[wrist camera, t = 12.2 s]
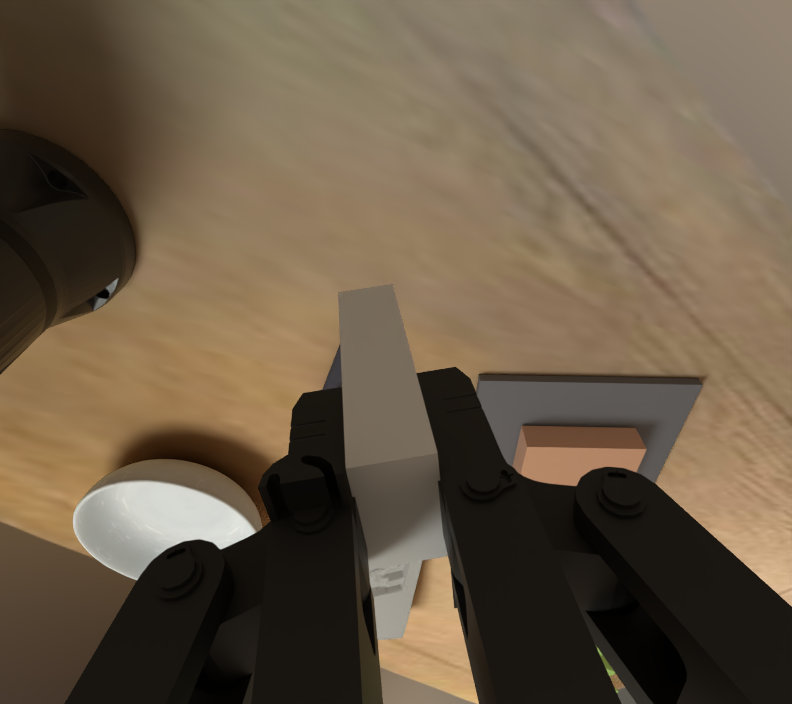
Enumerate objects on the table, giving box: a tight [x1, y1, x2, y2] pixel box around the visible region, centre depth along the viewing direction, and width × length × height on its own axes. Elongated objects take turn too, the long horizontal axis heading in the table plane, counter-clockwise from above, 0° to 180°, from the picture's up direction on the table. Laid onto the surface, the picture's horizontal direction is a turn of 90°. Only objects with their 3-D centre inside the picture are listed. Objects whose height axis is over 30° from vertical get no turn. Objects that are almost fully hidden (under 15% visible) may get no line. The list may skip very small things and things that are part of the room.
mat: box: [476, 374, 703, 483], centre depth 57 cm, size 22×26×1 cm
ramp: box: [369, 561, 422, 640], centre depth 71 cm, size 28×16×5 cm, turn 149°
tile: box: [512, 426, 647, 486], centre depth 56 cm, size 12×3×16 cm
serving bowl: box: [73, 459, 262, 580], centre depth 59 cm, size 21×21×7 cm
